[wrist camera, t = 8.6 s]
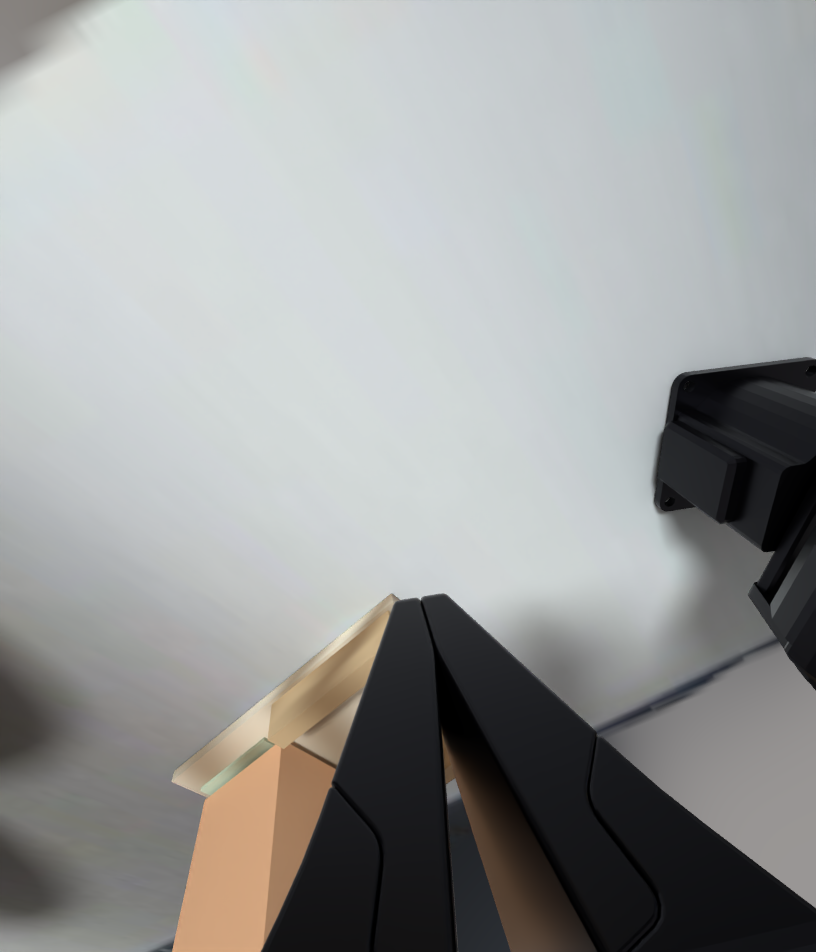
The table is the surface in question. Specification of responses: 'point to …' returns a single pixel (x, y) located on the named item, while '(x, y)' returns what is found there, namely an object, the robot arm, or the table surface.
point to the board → (299, 711)
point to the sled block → (250, 851)
